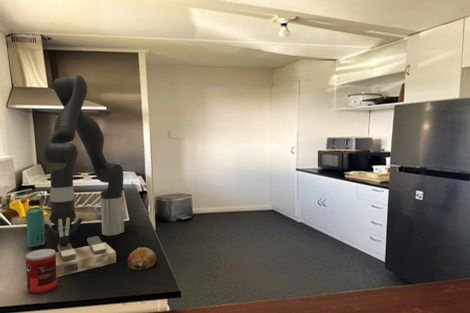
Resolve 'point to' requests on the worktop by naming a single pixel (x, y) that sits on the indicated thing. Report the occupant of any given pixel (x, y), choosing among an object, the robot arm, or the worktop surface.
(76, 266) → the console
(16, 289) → the worktop surface
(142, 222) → the worktop surface
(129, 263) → the bread roll
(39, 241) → the beverage bottle
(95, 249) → the switch
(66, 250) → the switch
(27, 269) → the canned food
